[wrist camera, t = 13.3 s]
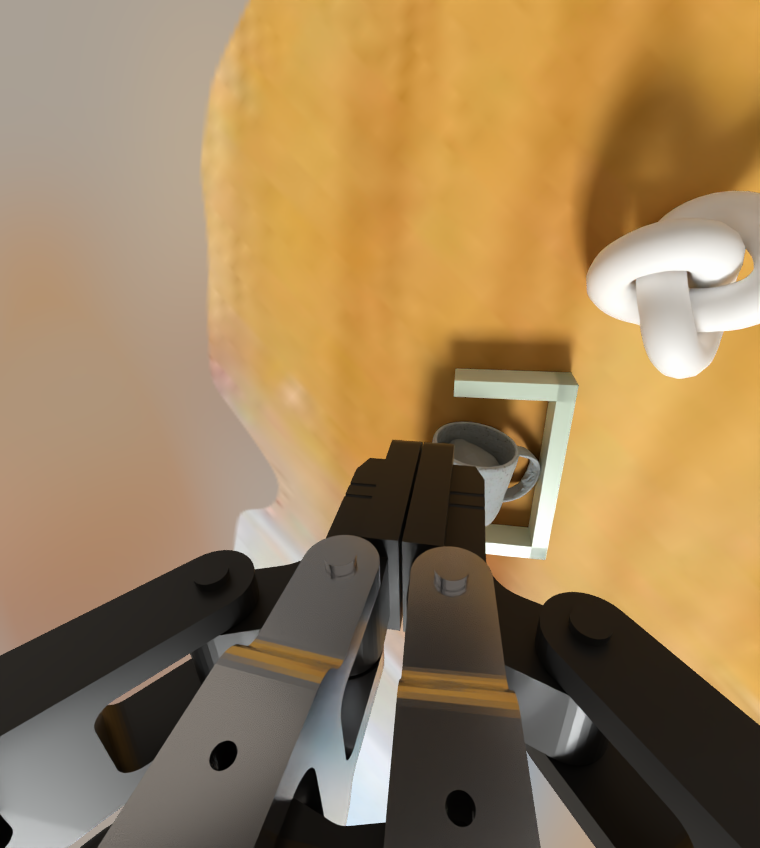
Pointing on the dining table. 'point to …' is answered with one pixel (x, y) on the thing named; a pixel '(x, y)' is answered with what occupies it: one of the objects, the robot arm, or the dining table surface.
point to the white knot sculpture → (684, 279)
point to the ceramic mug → (490, 461)
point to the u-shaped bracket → (554, 444)
